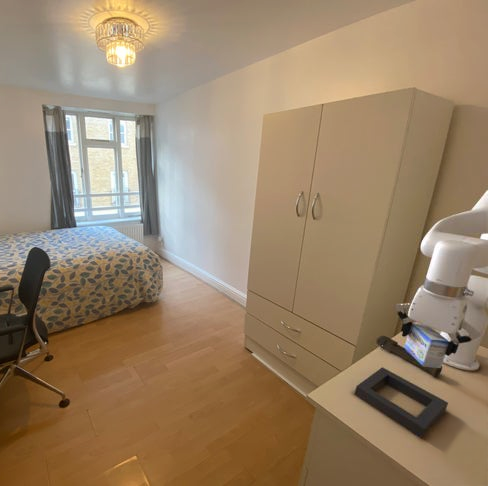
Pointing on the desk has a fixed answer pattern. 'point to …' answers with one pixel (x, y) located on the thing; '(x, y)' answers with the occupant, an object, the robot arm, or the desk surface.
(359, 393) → the holder
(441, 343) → the medicine box
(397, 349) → the hand tool
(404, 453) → the desk surface
